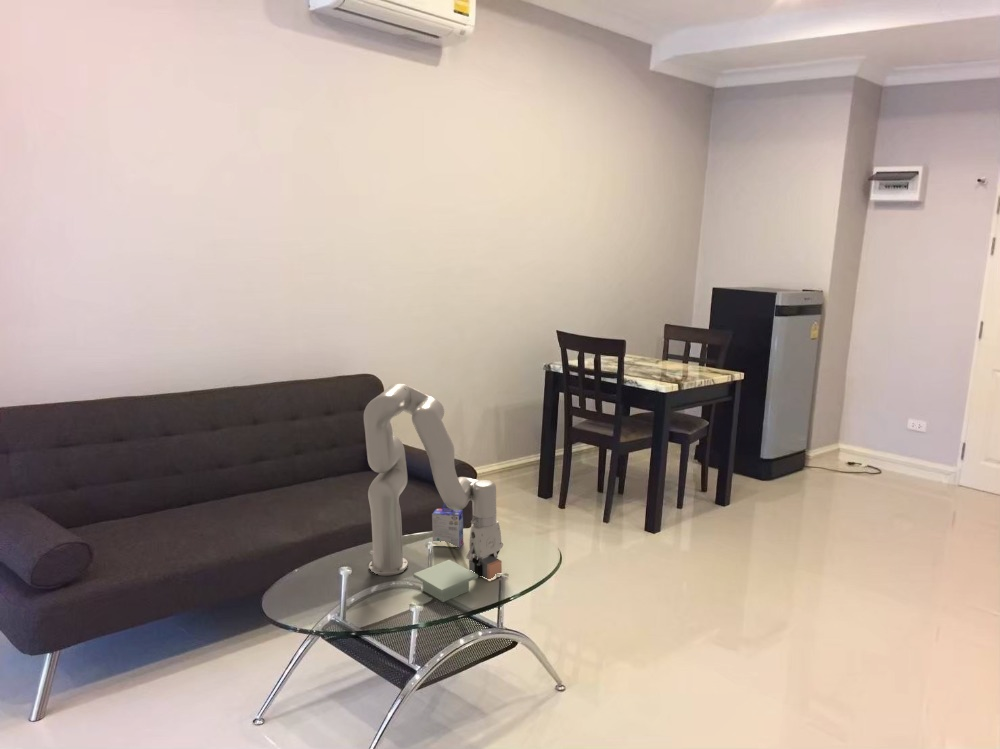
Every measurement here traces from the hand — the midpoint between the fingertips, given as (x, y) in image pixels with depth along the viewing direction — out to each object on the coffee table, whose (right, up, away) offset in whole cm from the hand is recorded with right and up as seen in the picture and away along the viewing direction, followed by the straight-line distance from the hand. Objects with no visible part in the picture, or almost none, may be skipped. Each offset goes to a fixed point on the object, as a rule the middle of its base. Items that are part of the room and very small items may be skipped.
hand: (485, 571), depth 257 cm
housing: (0, -1, 0) cm, 1 cm away
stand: (-12, -3, -10) cm, 16 cm away
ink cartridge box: (-13, +4, +22) cm, 26 cm away
